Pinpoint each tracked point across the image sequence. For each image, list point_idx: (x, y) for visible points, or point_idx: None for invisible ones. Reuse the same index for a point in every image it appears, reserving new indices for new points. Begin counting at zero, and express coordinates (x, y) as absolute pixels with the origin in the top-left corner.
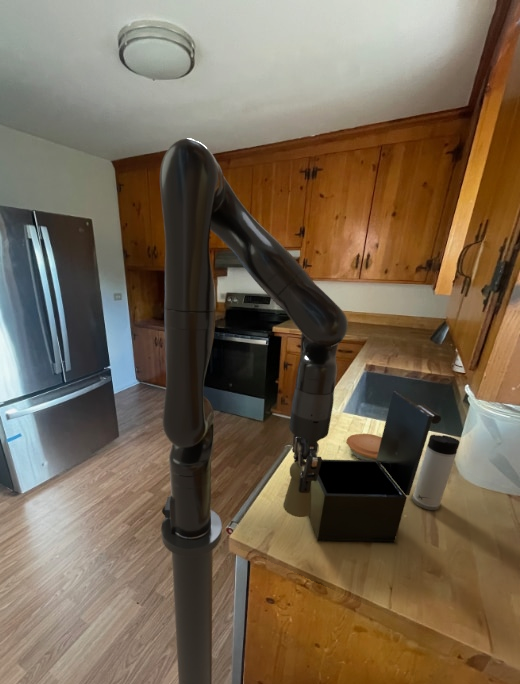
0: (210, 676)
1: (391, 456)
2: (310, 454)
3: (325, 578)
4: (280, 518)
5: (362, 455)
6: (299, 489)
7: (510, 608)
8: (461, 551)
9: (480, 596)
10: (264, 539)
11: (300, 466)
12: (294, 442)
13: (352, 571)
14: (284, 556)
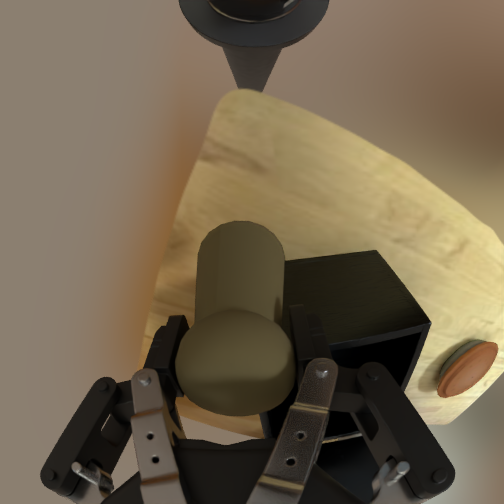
0: (247, 88)
1: (347, 471)
2: (85, 500)
3: (160, 267)
4: (312, 191)
5: (456, 360)
6: (168, 323)
7: (189, 417)
8: (259, 415)
9: (196, 408)
10: (233, 150)
11: (214, 389)
12: (383, 420)
13: (188, 308)
14: (191, 196)
